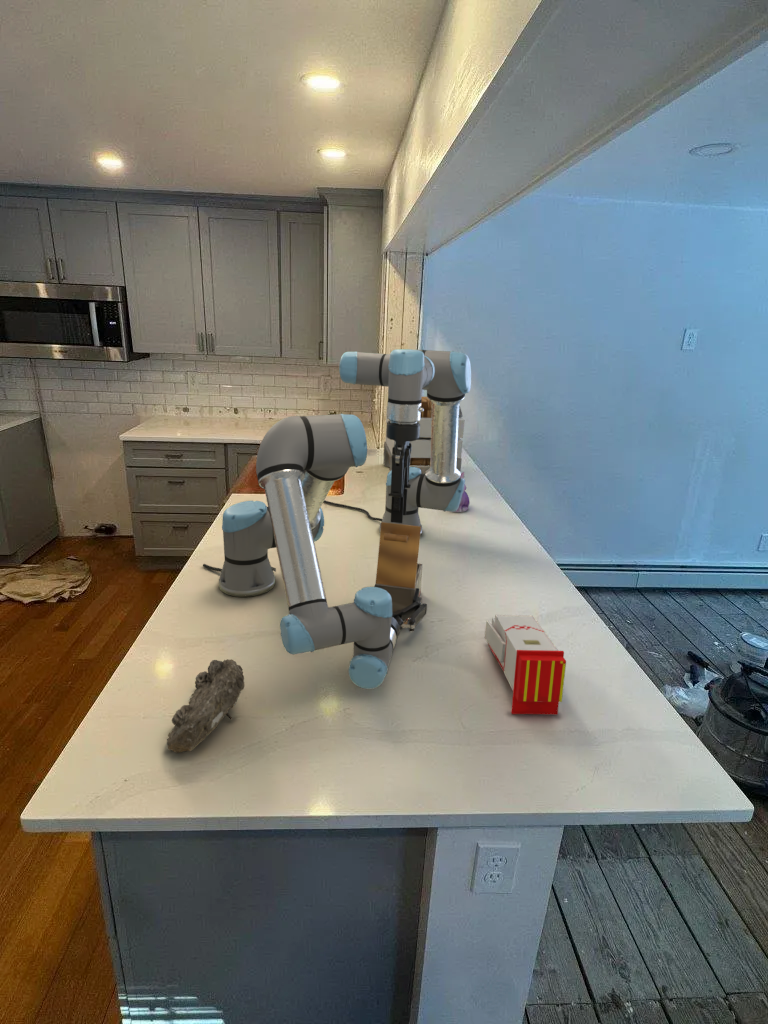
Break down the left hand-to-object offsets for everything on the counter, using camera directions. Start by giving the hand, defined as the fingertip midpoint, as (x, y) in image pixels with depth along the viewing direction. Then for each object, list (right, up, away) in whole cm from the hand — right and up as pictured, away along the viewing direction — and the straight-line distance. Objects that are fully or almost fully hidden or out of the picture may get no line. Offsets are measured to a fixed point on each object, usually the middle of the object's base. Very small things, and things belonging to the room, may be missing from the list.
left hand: (397, 590), depth 147 cm
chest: (0, -4, +6) cm, 7 cm away
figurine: (+26, +21, +81) cm, 87 cm away
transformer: (+14, +39, +128) cm, 135 cm away
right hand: (0, +19, -12) cm, 22 cm away
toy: (+26, -15, -22) cm, 37 cm away
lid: (0, +10, -5) cm, 11 cm away
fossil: (-36, -19, -39) cm, 56 cm away
